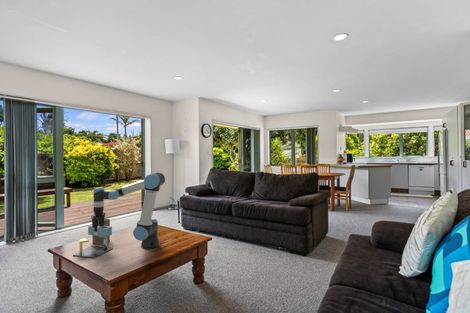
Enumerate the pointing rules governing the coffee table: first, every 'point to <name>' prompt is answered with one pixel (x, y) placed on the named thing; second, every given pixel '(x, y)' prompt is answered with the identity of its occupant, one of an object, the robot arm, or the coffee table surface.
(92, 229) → the link
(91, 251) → the plate
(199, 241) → the coffee table surface
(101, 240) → the wooden block
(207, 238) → the coffee table surface
